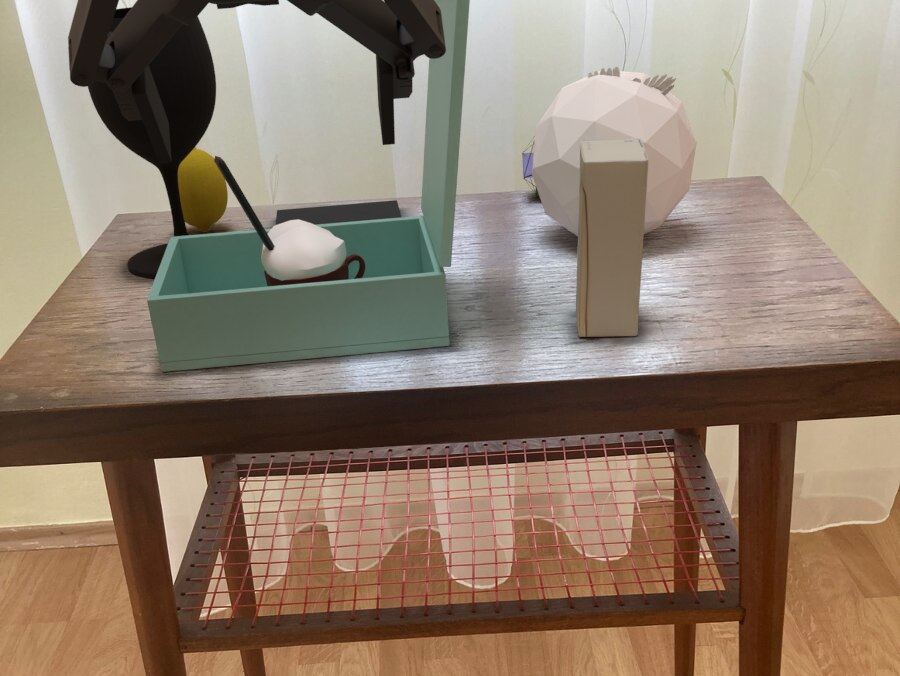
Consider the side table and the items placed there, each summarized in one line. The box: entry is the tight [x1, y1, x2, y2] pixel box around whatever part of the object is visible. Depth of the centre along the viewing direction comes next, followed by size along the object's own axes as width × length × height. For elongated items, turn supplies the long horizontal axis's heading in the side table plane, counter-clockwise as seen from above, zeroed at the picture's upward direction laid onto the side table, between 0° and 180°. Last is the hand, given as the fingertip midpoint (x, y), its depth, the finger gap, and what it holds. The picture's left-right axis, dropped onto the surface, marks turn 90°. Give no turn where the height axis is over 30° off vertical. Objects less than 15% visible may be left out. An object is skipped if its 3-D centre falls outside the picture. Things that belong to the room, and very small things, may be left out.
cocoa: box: [214, 155, 365, 286], centre depth 81 cm, size 10×6×12 cm, turn 91°
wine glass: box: [87, 6, 217, 279], centre depth 94 cm, size 10×10×20 cm
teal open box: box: [146, 215, 451, 373], centre depth 83 cm, size 20×15×5 cm
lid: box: [420, 0, 471, 268], centre depth 76 cm, size 21×15×4 cm
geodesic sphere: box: [532, 66, 698, 237], centre depth 94 cm, size 15×14×14 cm
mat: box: [275, 199, 402, 225], centre depth 105 cm, size 12×12×1 cm
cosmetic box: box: [575, 138, 648, 338], centre depth 77 cm, size 6×4×12 cm
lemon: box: [178, 146, 229, 233], centre depth 105 cm, size 6×6×8 cm
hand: (275, 134), depth 67 cm, fingers open, 13 cm apart
